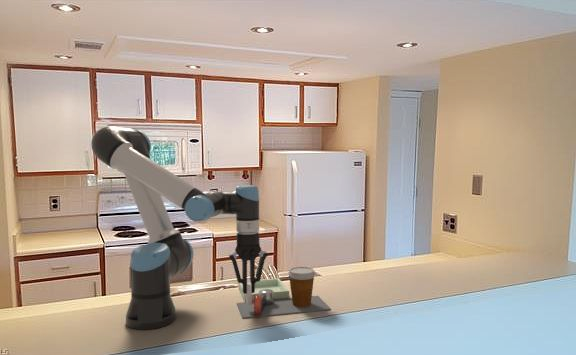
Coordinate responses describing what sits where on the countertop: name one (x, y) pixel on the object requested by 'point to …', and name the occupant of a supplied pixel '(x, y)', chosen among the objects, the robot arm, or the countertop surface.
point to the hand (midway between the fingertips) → (248, 302)
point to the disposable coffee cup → (301, 285)
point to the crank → (259, 303)
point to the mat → (282, 307)
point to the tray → (272, 284)
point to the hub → (268, 295)
